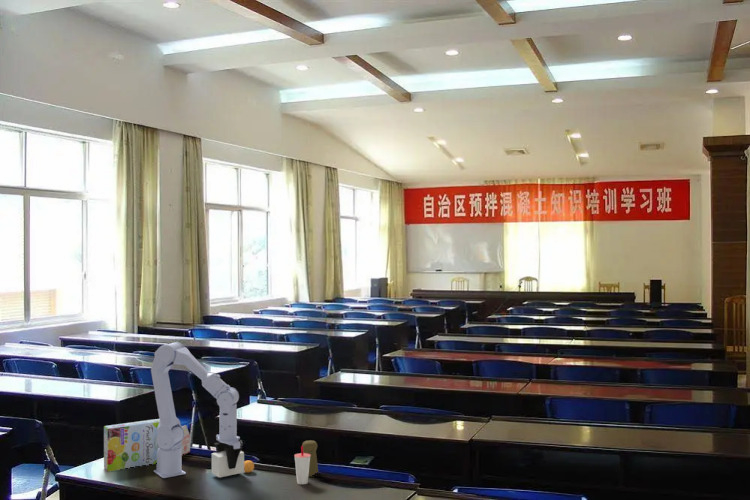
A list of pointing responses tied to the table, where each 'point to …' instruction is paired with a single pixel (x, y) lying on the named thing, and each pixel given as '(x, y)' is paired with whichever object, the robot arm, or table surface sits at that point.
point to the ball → (248, 466)
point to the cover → (226, 464)
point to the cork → (311, 449)
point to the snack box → (130, 444)
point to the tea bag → (185, 441)
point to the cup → (302, 466)
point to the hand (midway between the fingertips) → (227, 466)
